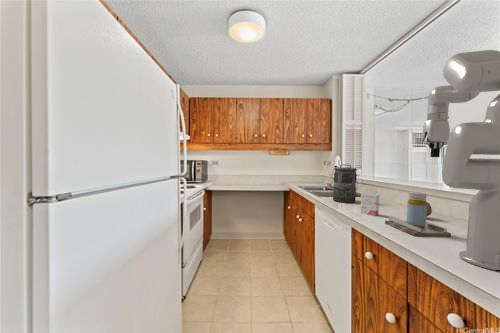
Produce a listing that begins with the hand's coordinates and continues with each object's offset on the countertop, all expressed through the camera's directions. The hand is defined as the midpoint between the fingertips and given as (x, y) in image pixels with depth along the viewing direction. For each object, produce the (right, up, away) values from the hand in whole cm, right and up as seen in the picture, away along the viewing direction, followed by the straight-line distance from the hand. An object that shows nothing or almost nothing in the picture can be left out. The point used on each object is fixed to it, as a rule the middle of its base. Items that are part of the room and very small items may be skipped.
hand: (434, 157), depth 106 cm
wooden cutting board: (-13, -32, -5) cm, 34 cm away
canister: (-16, -31, +64) cm, 73 cm away
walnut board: (-13, -33, -5) cm, 36 cm away
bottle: (-13, -31, -5) cm, 34 cm away
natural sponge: (+8, -33, +20) cm, 39 cm away
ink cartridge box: (-18, -32, +24) cm, 44 cm away
